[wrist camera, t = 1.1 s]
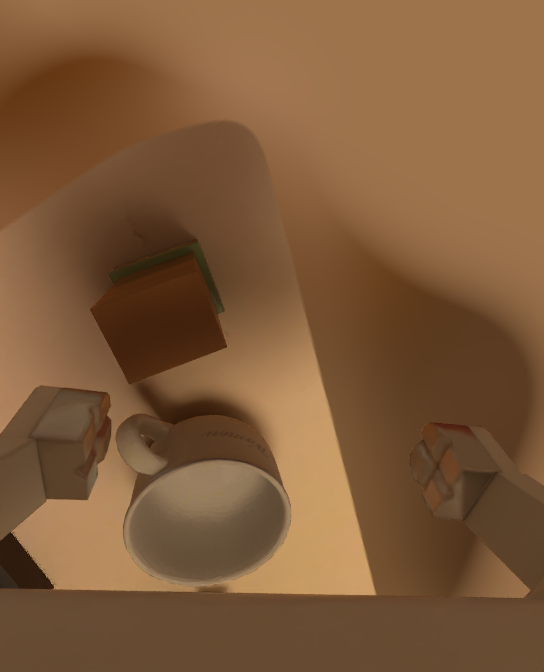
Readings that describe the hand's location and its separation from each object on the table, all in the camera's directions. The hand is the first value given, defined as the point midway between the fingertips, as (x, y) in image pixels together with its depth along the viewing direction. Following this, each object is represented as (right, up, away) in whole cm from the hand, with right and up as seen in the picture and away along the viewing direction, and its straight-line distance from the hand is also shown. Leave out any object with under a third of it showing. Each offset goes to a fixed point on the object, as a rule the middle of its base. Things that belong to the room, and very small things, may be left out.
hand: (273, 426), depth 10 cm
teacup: (-6, -6, +22) cm, 24 cm away
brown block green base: (-7, +6, +17) cm, 20 cm away
